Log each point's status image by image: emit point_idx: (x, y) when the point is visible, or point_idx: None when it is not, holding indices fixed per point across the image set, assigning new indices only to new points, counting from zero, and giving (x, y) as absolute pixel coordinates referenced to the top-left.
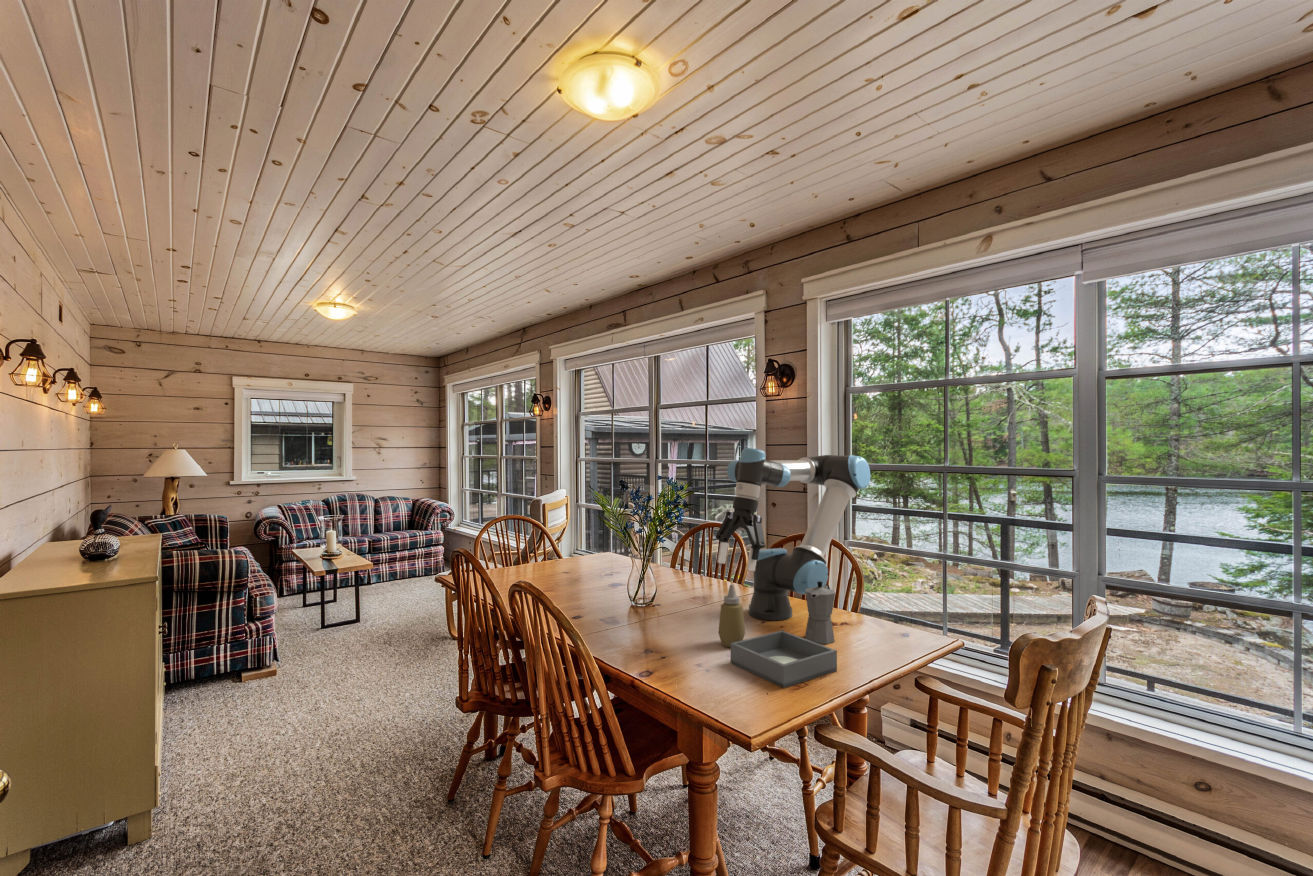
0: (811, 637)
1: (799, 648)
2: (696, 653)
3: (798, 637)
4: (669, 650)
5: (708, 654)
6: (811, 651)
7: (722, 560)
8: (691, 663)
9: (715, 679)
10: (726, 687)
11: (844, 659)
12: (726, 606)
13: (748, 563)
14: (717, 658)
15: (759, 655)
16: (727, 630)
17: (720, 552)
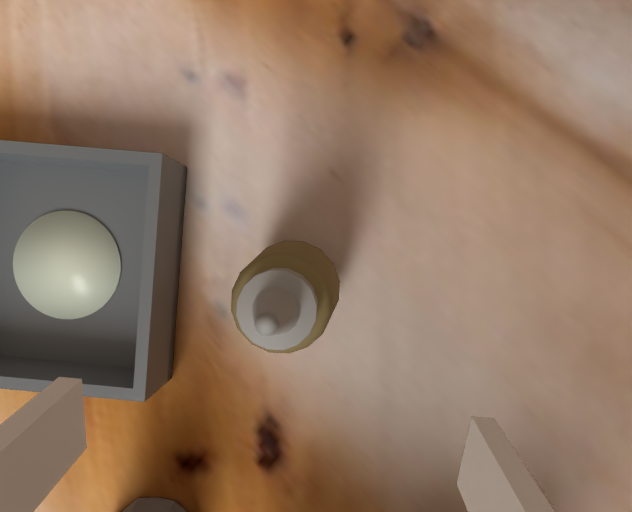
0: (147, 509)
1: (73, 369)
2: (309, 142)
3: None
4: (381, 92)
5: (279, 166)
6: (21, 366)
7: (473, 471)
8: (257, 74)
9: (129, 48)
10: (73, 34)
11: None
12: (272, 259)
13: (23, 417)
14: (238, 164)
15: (22, 143)
16: (270, 247)
17: (519, 503)
